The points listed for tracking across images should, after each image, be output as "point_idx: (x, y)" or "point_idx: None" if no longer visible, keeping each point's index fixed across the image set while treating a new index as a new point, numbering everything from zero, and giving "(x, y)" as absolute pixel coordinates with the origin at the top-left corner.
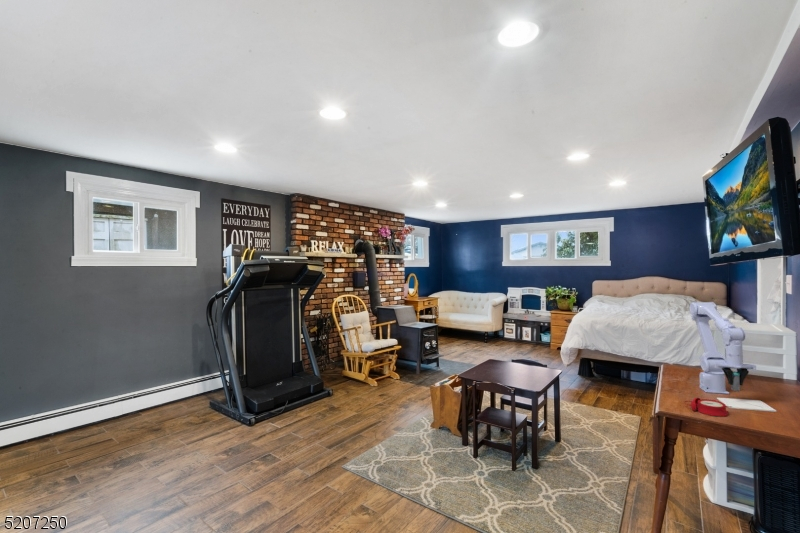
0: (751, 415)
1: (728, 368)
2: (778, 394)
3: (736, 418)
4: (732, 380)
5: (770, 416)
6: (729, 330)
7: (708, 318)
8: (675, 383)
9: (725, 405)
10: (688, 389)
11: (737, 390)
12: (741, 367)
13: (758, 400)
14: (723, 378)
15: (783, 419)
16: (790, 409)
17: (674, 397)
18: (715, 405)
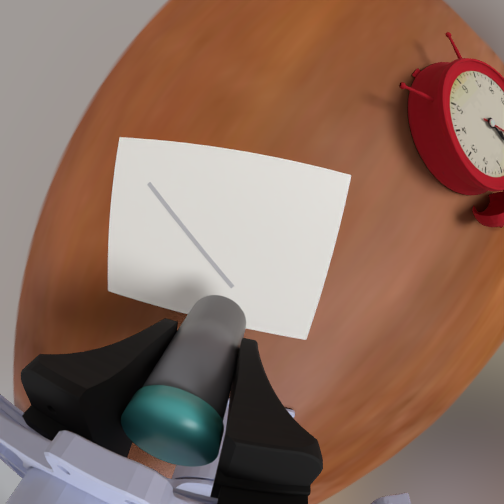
0: (296, 63)
1: (250, 499)
2: (39, 354)
3: (397, 37)
4: (240, 359)
5: (201, 60)
6: None
7: None
8: (332, 474)
9: (441, 78)
10: (339, 434)
11: (219, 298)
12: (54, 440)
13: (115, 292)
14: None
15: (170, 34)
16: (56, 187)
17: (479, 331)
18: (481, 96)
